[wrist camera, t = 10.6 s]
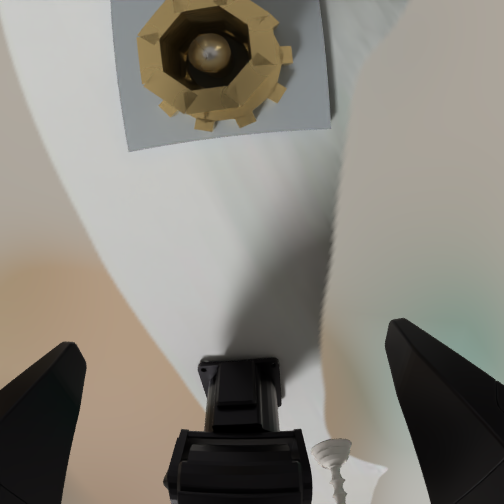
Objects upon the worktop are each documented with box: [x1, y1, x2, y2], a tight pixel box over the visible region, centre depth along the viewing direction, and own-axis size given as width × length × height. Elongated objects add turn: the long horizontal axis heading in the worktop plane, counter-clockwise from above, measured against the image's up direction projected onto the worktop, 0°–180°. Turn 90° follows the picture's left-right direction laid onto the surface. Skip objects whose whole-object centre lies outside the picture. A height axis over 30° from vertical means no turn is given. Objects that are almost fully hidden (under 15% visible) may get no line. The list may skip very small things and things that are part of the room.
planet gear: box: [136, 0, 293, 132], centre depth 12 cm, size 7×7×6 cm
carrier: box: [111, 0, 331, 152], centre depth 11 cm, size 14×11×6 cm
